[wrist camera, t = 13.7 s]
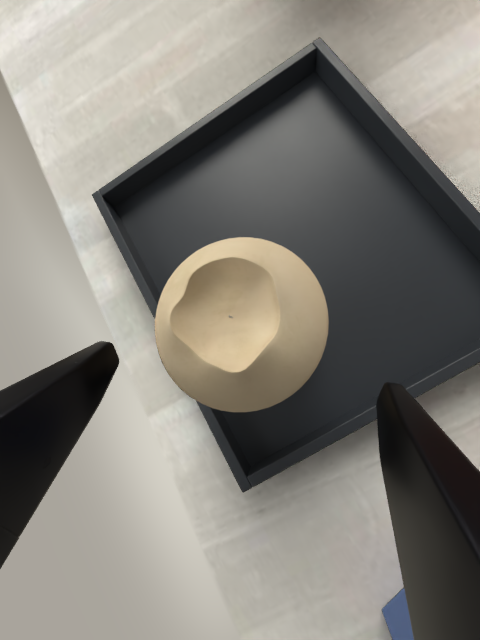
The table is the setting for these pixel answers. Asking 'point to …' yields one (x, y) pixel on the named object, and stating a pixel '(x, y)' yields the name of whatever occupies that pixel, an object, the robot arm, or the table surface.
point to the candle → (241, 324)
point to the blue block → (398, 617)
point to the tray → (315, 244)
